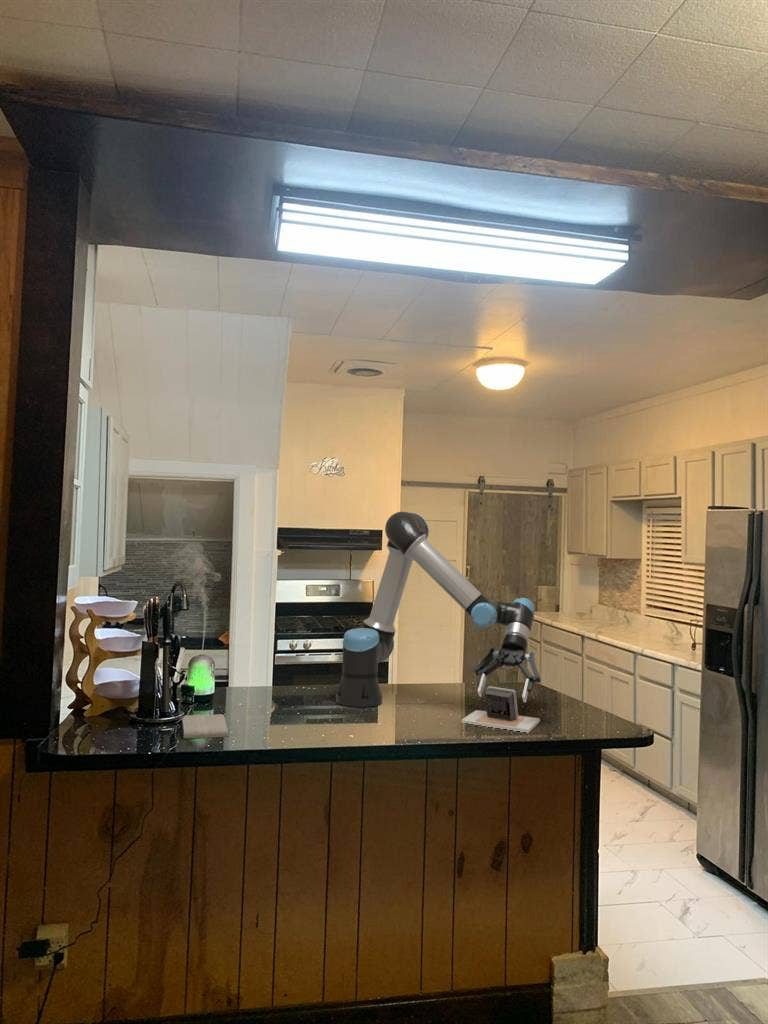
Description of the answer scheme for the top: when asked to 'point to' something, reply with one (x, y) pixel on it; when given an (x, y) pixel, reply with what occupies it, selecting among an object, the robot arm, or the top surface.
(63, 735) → the top surface
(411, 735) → the top surface
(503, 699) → the electrical switch
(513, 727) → the mounting plate
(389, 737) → the top surface
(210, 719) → the washcloth
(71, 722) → the top surface
